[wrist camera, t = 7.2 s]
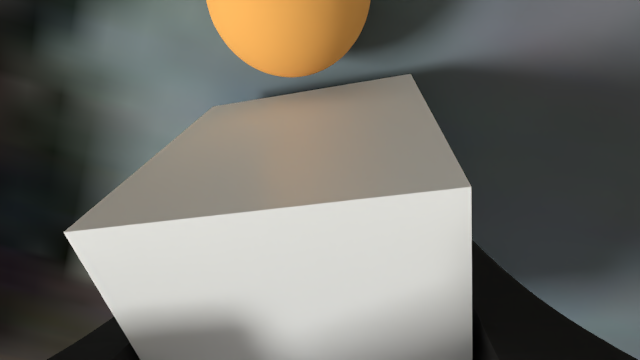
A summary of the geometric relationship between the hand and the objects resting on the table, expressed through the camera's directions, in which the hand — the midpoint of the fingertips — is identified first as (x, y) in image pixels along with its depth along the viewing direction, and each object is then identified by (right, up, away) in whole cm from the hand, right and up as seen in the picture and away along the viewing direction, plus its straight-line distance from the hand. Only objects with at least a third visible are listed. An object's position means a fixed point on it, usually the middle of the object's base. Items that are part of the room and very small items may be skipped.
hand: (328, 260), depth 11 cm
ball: (-1, +7, -2) cm, 7 cm away
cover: (0, +1, +2) cm, 2 cm away
